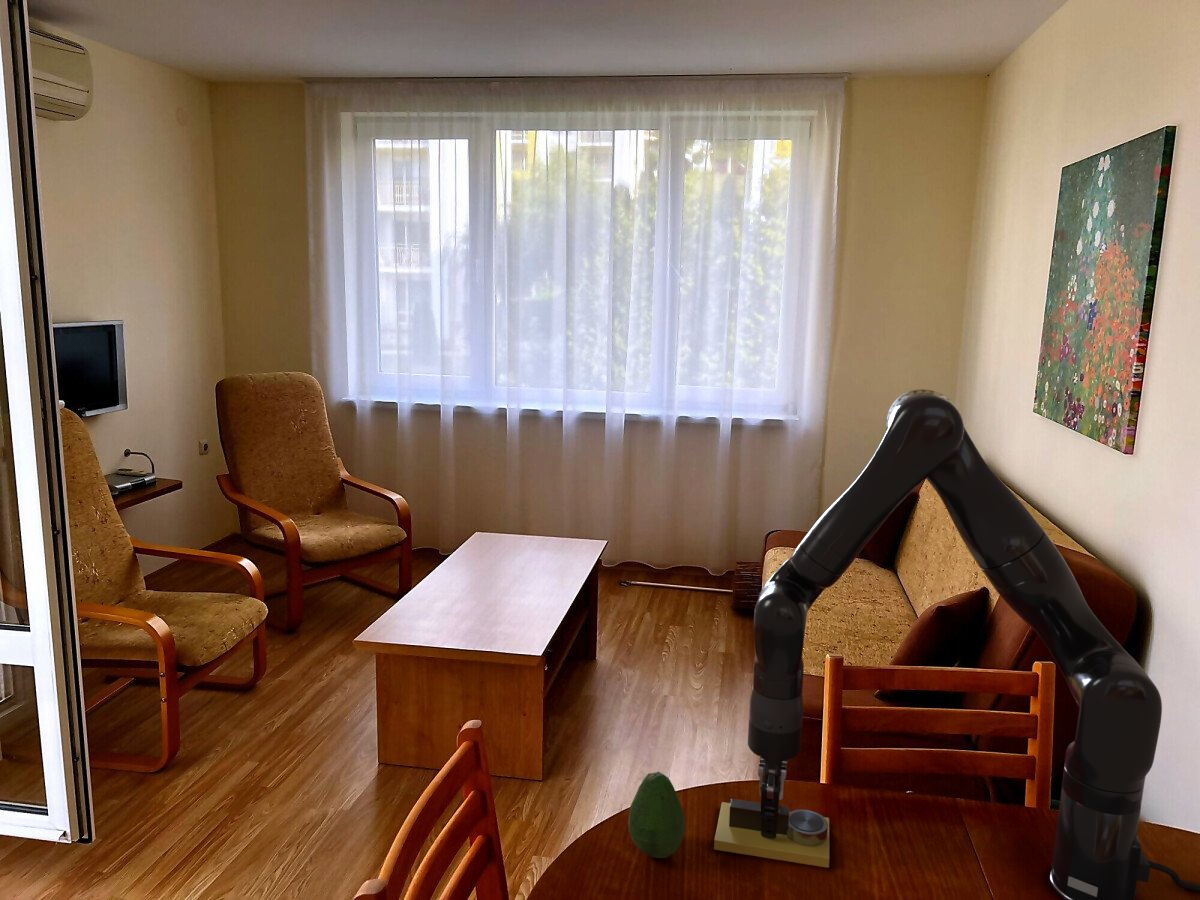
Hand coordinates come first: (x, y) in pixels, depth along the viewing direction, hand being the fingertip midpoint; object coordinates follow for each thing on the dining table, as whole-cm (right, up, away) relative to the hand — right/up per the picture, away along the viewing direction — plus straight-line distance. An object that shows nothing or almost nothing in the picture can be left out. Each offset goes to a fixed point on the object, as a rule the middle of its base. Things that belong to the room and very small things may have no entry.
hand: (769, 825), depth 133 cm
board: (0, -2, 0) cm, 2 cm away
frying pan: (+1, 0, 0) cm, 1 cm away
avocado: (-17, -3, -4) cm, 18 cm away
